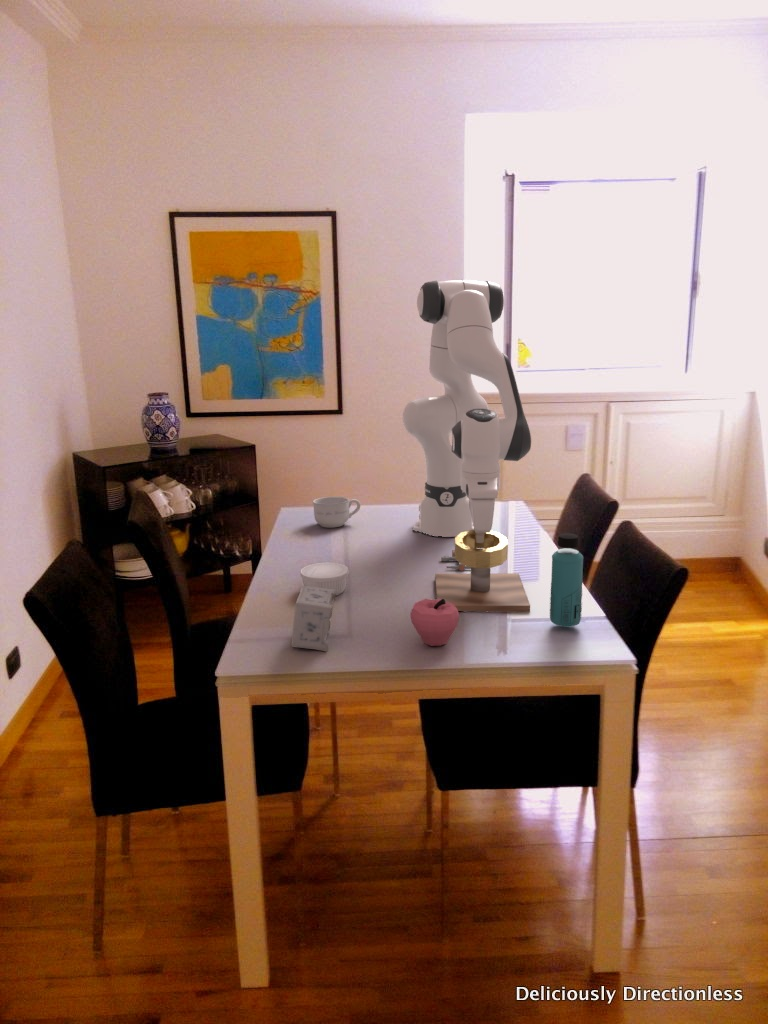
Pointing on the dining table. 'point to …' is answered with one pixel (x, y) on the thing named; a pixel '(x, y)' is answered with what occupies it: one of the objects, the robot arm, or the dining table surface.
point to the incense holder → (312, 618)
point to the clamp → (447, 558)
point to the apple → (434, 620)
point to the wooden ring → (481, 557)
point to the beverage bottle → (566, 582)
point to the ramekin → (325, 576)
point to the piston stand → (483, 591)
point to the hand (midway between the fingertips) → (479, 540)
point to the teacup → (333, 511)
